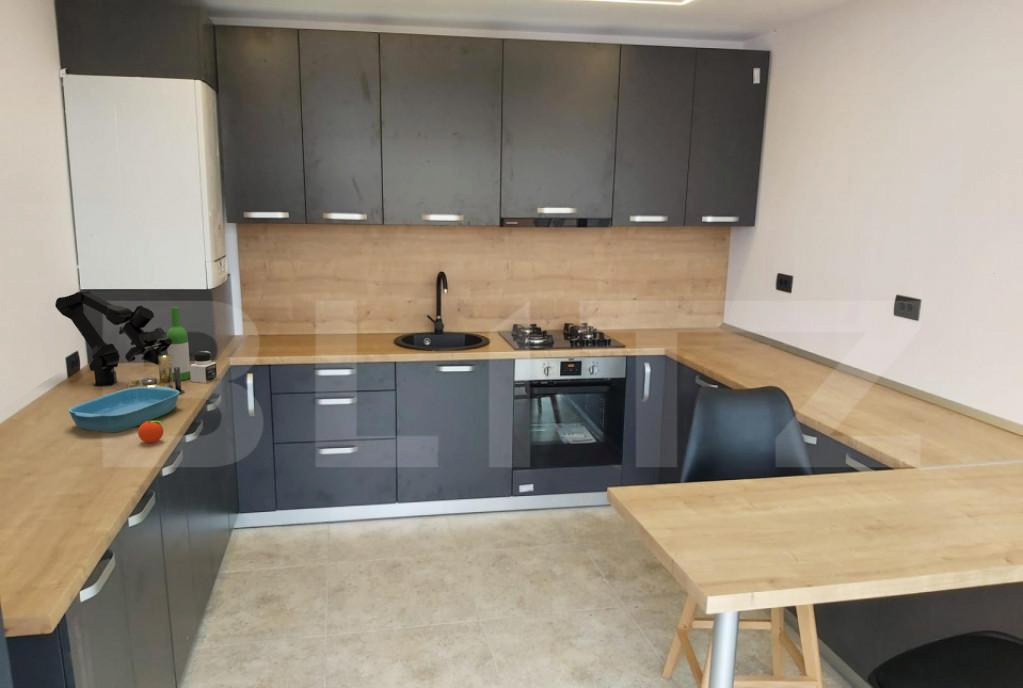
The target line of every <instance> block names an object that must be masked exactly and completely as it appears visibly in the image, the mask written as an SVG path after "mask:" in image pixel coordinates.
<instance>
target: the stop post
mask: <svg viewBox="0 0 1023 688" xmlns="http://www.w3.org/2000/svg"><path fill="white" fill-rule="evenodd" d="M174 375H175V381H174V384H175V385H174V387H175V389H174V390H178V391H179V395H182V394H181V393H183V394H185V390H183V389H182V381H181V377H180V367H175V368H174Z"/></svg>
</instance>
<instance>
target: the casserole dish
mask: <svg viewBox="0 0 1023 688" xmlns="http://www.w3.org/2000/svg"><path fill="white" fill-rule="evenodd" d="M179 395H180V394H179V391H178V390H176V389H174V388H173V389H172V388H169V387H134V388H129V389H127V388H125V389H122V390H118V391H114V392H112V393H108V394H106V395H102V396H100V397H96V398H94V399H90V400H88V401H85V402H82V403H80V404H77V405H73V406H72V407H70V408H69V409H68V412H69V413H68V414H70V416H71V418H72V420H73V422H74V424H75V425H76V426H77V427H78V428H81V429H83V430H85V431H96V432H103V433H119V432H118V431H120V432H123V431H122V430H124V431H127V430H130V429H133V428H135V427H138V426H140V425H142V423H144V422H146V421H149V420H150V421H152V420H151V419H153V420H155V419H157V418H159V416H160V417H162V416H165V415H167V414H168V413H170V412H172V411H174V408H175V407H176V406H177V405H176V404H177V402H178V398H179ZM161 415H162V416H161ZM156 417H157V418H156ZM154 418H155V419H154ZM139 424H140V425H139ZM137 425H138V426H137ZM134 426H135V427H134ZM132 427H133V428H132ZM129 428H130V429H129ZM126 429H127V430H126Z"/></svg>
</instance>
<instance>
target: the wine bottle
mask: <svg viewBox="0 0 1023 688" xmlns="http://www.w3.org/2000/svg"><path fill="white" fill-rule="evenodd" d="M170 312H171V314H170V315H171V327H170V328H169V329H168V330H167V332H166V338H170V339H171V340H172V342H173V343H172V344H171V345H170V346H169V348H168V349H167V350H166V351H167V354H170V355H171V364H172V377H173V381H174V382H175V375H174V368H175V367H180V377H181V382H182V381H185V380H188V379H191V371H190V365H191V364H190V352H189V351H190V350H189V339H188V331H187V330H186V329H185V328H184V327H183V326H181V315H180V314H181V313H180V307H179V306H170Z"/></svg>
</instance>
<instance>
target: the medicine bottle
mask: <svg viewBox="0 0 1023 688" xmlns="http://www.w3.org/2000/svg"><path fill="white" fill-rule="evenodd" d="M193 355H194V363H191V364H190V381H191V383H199V382H200V383H201V384H208V383H210V382H213V381H216V380H217V379H218V375H217V373H218V372H217V363H216V362H213V361H212V355H211V352H210V351H207V350H201V351H196V352H195V353H194V354H193Z"/></svg>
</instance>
